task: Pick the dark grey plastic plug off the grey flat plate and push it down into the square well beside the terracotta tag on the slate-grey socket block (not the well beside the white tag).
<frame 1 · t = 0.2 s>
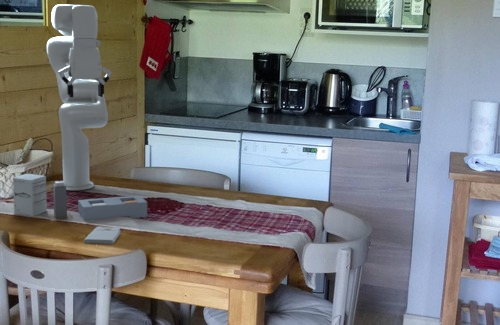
hand: (86, 96, 219), 36 cm above the table, tool pointing down, fingers open, 9 cm apart
grey flat plate: (60, 219, 207), on the table
external hard drive: (104, 238, 192), on the table
supplement box: (30, 215, 211), on the table
socket block: (112, 216, 213), on the table
plug: (60, 216, 207), point 1 cm above the table, touching grey flat plate
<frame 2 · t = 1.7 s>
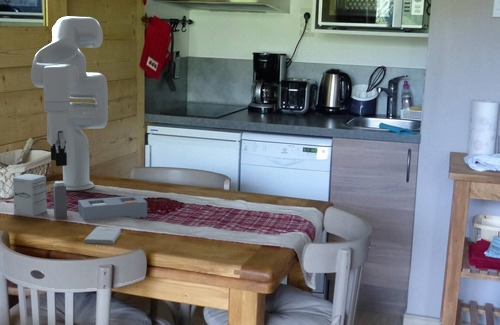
hand: (58, 162, 203), 18 cm above the table, tool pointing down, fingers open, 9 cm apart
nothing on the table moved.
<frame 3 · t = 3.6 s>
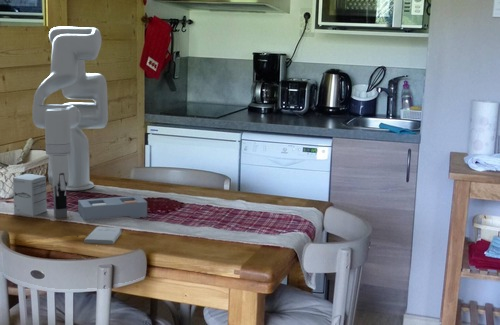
hand: (60, 206, 206), 4 cm above the table, tool pointing down, fingers closed on plug, 3 cm apart
plug: (60, 216, 207), point 1 cm above the table, touching grey flat plate, gripper
everything else where it was.
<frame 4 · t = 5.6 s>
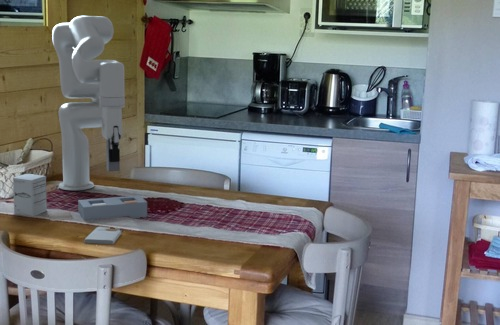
hand: (113, 159, 209), 18 cm above the table, tool pointing down, fingers closed on plug, 3 cm apart
plug: (113, 170, 210), point 15 cm above the table, touching gripper
everything else where it was.
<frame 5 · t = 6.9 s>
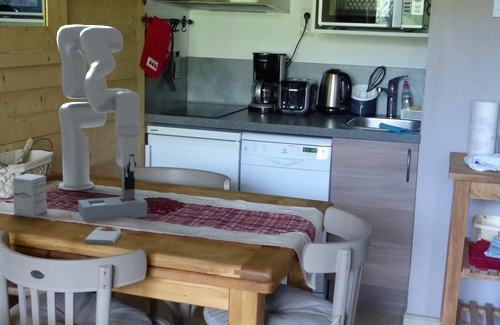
hand: (128, 187, 213), 9 cm above the table, tool pointing down, fingers closed on plug, 3 cm apart
plug: (128, 197, 213), point 6 cm above the table, touching gripper
everything else where it was.
when the fingers open (6 cm above the table, at t = 7.8 s): plug stays where it is, resting on socket block.
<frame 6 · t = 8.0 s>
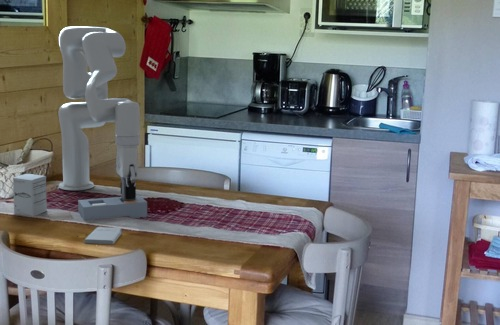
hand: (128, 195, 213), 6 cm above the table, tool pointing down, fingers open, 5 cm apart
plug: (128, 208, 214), point 2 cm above the table, touching socket block
everything else where it was.
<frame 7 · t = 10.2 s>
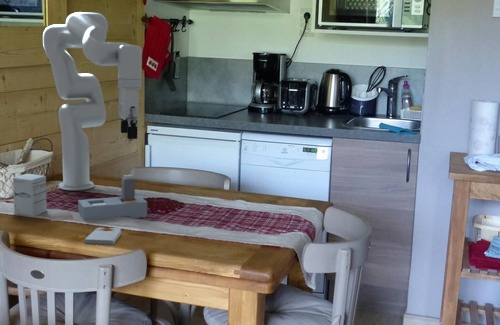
hand: (128, 135, 219), 24 cm above the table, tool pointing down, fingers open, 9 cm apart
nothing on the table moved.
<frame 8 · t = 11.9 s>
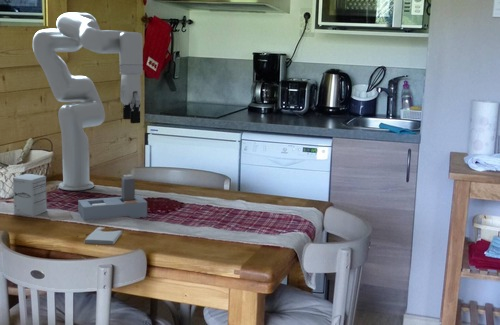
hand: (131, 121, 224), 28 cm above the table, tool pointing down, fingers open, 9 cm apart
nothing on the table moved.
at the end: plug 0.0 cm from the target spot on the socket block, point 2.0 cm above the socket block's base; plug tilted 0°; the gripper is holding nothing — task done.
